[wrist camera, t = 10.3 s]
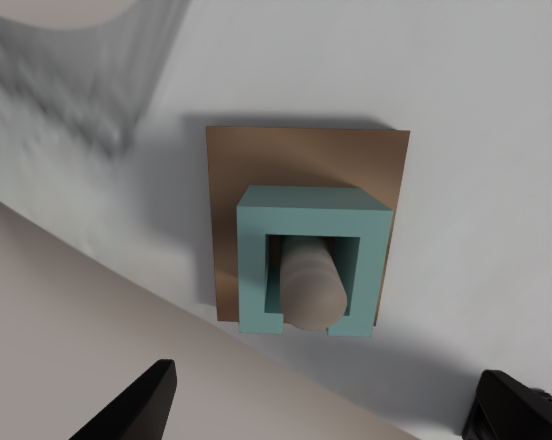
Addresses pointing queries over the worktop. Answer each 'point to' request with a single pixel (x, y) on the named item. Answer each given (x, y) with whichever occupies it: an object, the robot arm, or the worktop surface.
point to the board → (306, 173)
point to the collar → (314, 222)
